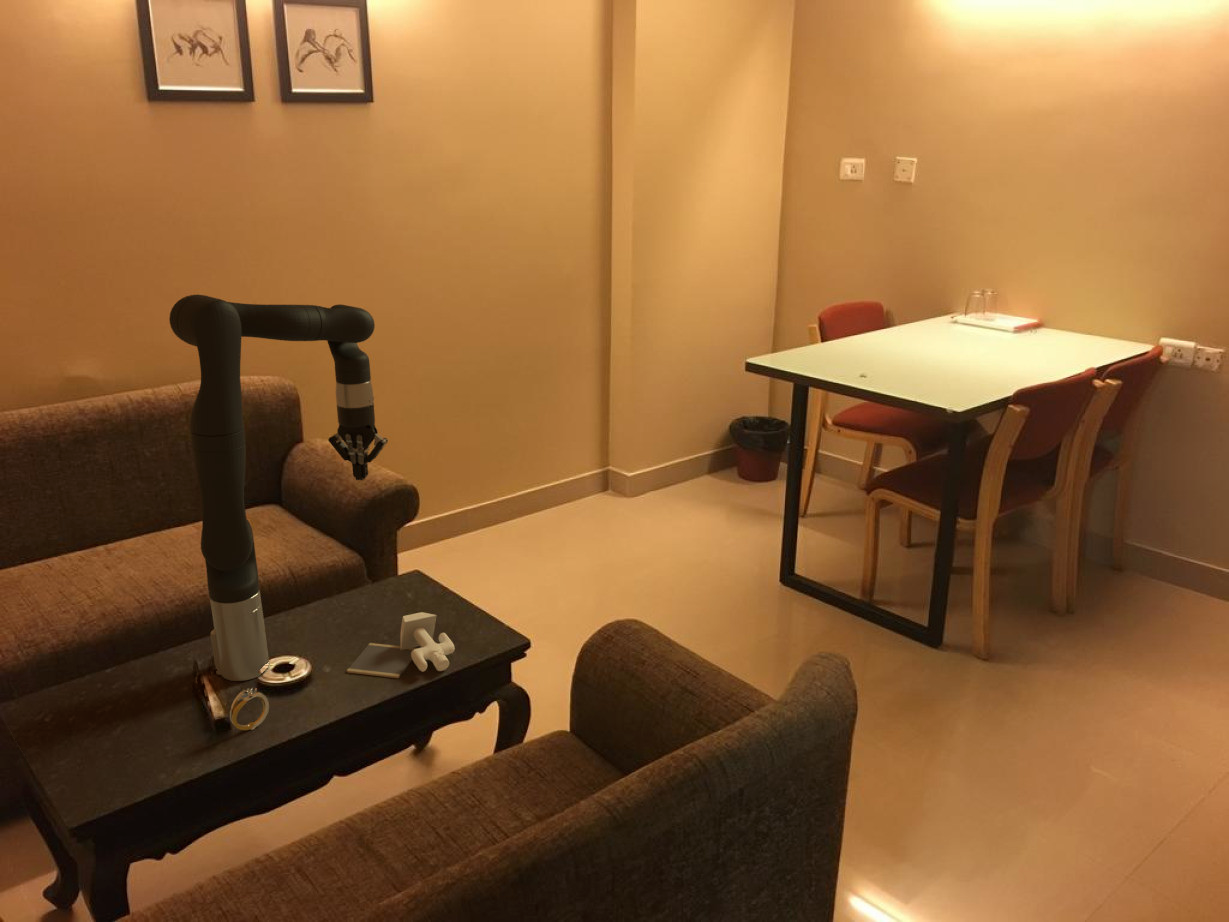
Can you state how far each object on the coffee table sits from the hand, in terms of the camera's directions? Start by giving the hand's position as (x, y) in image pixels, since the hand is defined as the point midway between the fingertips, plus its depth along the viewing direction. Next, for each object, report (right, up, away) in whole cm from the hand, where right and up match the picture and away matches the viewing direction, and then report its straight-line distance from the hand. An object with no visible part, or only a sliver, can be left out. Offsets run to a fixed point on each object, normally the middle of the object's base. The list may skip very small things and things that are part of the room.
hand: (361, 479), depth 210 cm
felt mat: (+7, -37, -9) cm, 39 cm away
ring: (-12, -45, -31) cm, 56 cm away
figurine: (+11, -30, -4) cm, 32 cm away
